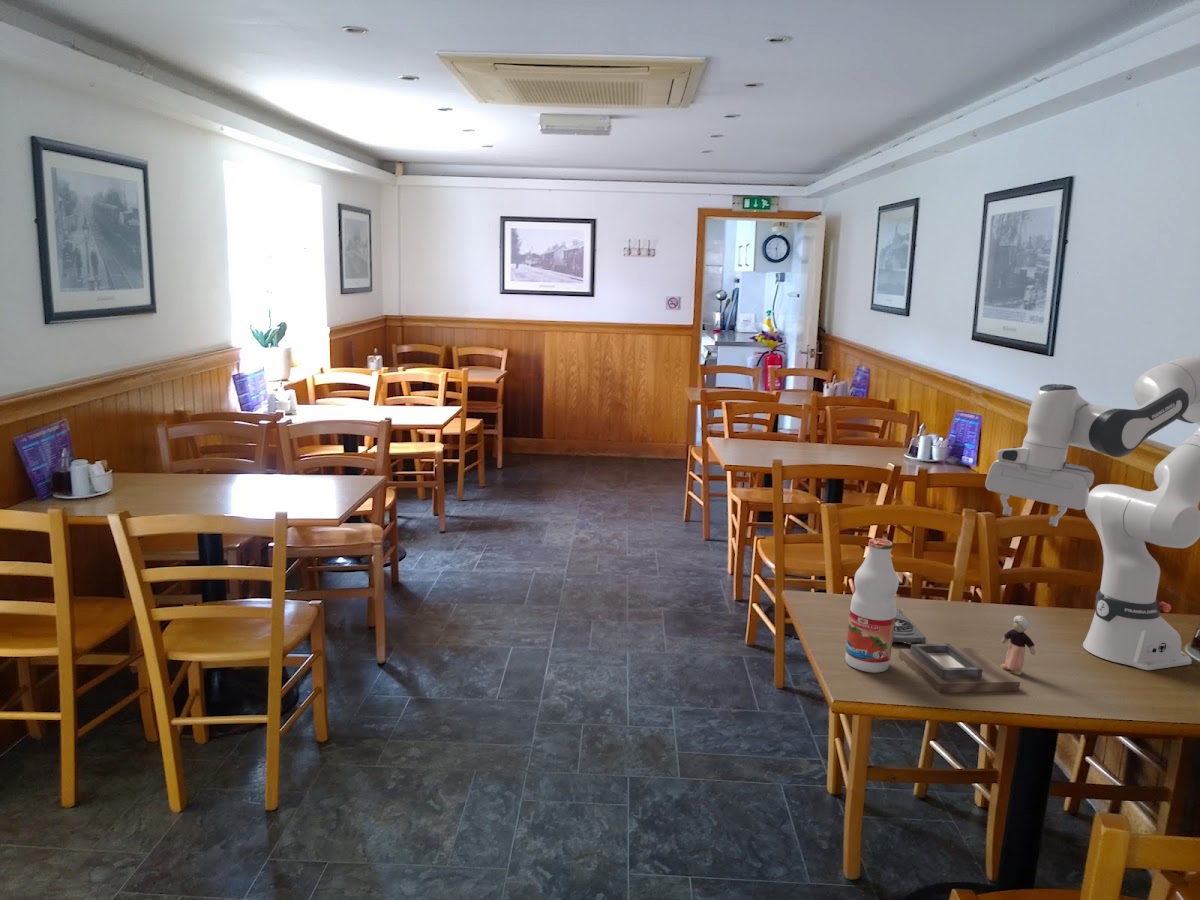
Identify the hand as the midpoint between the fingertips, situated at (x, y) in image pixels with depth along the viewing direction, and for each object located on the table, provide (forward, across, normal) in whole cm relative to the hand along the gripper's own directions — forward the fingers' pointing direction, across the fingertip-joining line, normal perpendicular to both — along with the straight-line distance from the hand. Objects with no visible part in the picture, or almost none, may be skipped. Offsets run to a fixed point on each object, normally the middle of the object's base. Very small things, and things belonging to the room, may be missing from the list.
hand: (1029, 520), depth 189 cm
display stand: (+34, +5, +13) cm, 37 cm away
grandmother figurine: (+33, -4, +3) cm, 33 cm away
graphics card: (+35, +24, +1) cm, 42 cm away
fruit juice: (+36, +21, +23) cm, 48 cm away
